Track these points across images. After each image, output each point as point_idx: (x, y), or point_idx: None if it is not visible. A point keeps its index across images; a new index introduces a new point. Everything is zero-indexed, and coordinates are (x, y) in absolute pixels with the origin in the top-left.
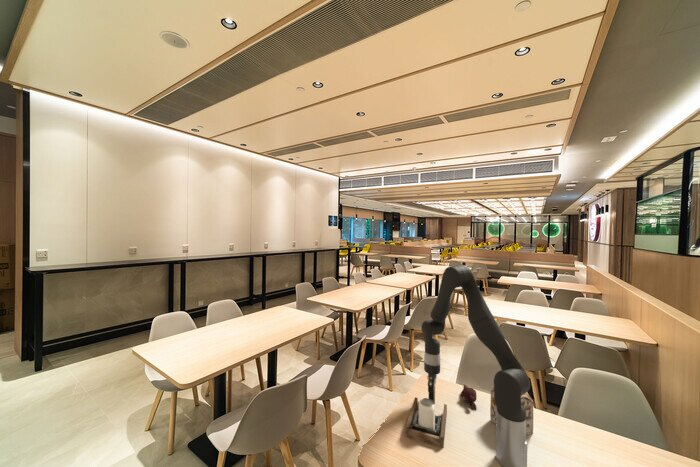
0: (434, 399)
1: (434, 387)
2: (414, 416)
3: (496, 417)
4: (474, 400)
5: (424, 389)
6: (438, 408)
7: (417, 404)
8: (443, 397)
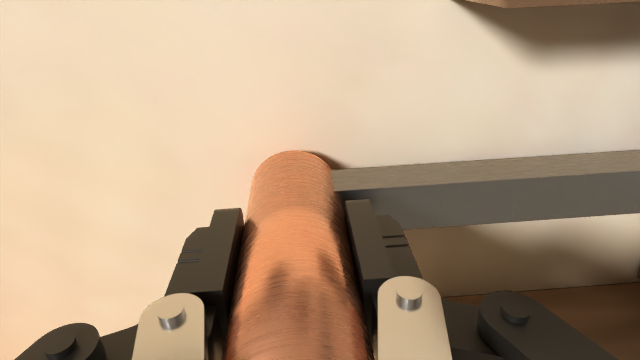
0: (314, 182)
1: (341, 338)
2: (619, 289)
3: None
4: None
5: (31, 306)
6: (367, 86)
7: None
8: (35, 55)
